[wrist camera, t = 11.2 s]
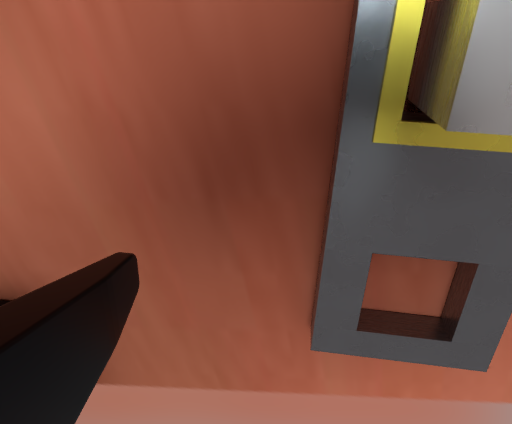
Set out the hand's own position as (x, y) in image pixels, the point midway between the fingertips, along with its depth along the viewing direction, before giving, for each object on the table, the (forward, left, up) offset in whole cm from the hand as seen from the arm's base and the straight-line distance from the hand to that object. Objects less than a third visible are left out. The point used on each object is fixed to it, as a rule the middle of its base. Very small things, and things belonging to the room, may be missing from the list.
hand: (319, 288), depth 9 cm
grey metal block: (+6, +5, -12) cm, 14 cm away
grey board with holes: (+6, -1, -12) cm, 14 cm away
